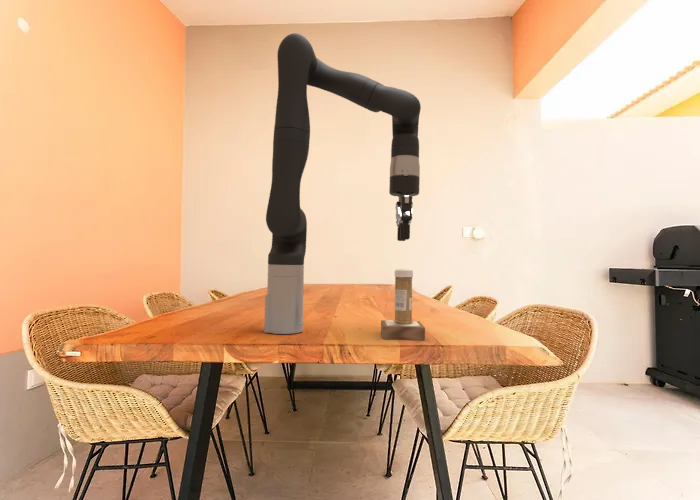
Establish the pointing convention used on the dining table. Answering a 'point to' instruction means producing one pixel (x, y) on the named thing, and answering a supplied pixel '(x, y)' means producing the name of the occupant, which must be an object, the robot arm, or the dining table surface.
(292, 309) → the robot arm
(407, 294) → the sprinkles bottle
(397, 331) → the walnut plinth
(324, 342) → the dining table surface
